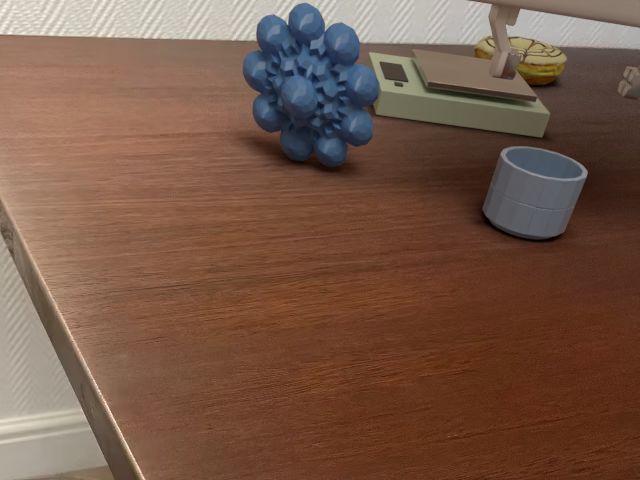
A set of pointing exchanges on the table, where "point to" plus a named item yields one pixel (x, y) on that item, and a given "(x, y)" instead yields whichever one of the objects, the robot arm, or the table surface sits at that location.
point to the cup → (533, 192)
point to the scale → (449, 101)
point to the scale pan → (468, 76)
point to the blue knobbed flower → (311, 85)
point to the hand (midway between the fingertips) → (565, 86)
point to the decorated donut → (529, 58)
